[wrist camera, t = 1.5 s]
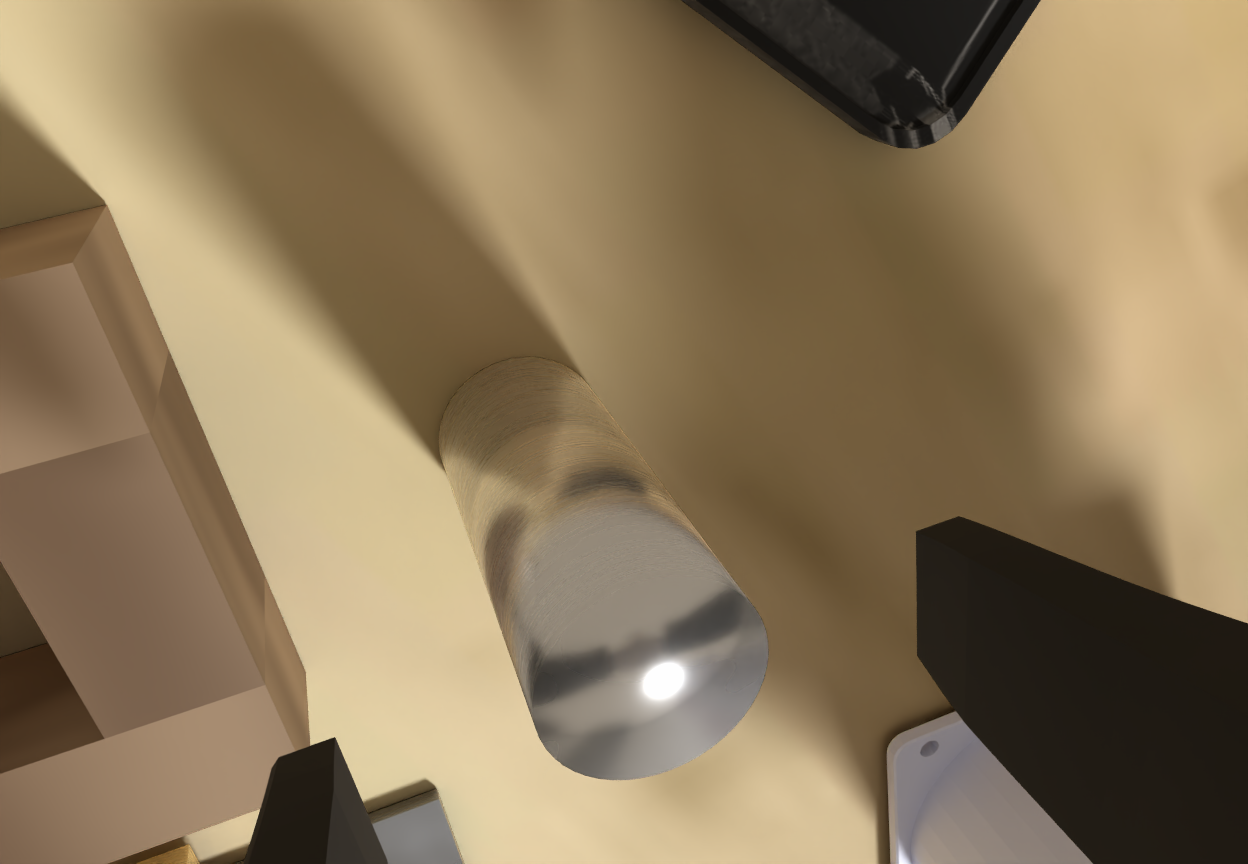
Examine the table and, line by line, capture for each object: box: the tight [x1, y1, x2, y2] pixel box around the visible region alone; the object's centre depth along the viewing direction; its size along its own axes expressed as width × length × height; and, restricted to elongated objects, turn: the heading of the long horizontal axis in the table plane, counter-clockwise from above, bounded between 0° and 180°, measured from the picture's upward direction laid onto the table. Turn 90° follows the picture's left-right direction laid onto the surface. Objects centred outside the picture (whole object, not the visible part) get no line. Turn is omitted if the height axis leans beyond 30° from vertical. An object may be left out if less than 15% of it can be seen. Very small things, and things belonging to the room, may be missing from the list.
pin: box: [439, 357, 768, 780], centre depth 15 cm, size 3×3×7 cm
